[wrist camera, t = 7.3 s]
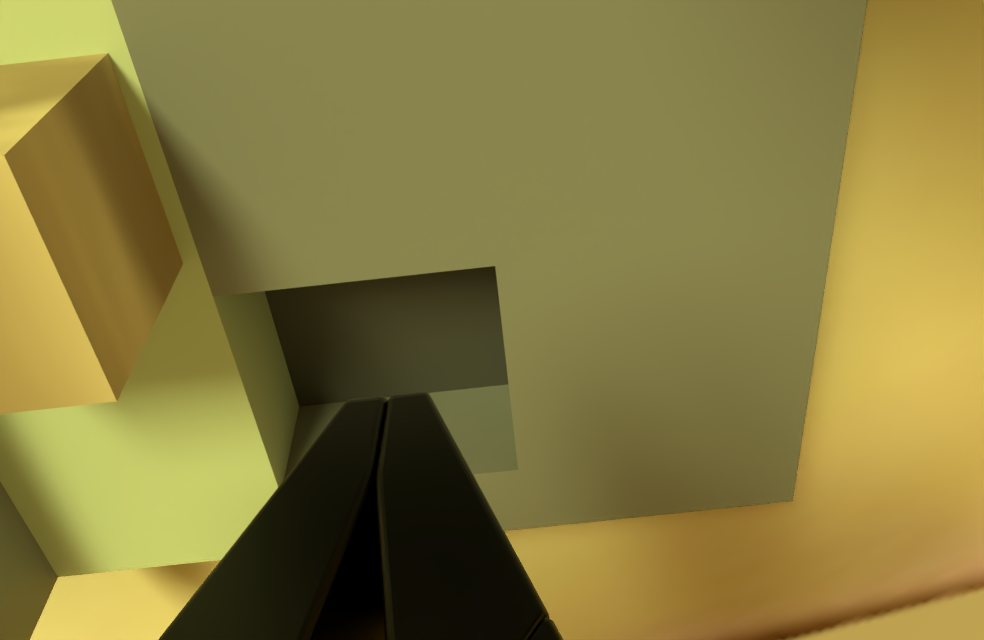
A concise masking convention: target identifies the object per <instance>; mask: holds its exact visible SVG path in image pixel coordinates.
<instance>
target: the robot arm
mask: <svg viewBox="0 0 984 640" xmlns="http://www.w3.org/2000/svg"><path fill="white" fill-rule="evenodd" d="M159 640H563V638H562V637H561V635H560V633H559V631H558V629H557V627H556V626H555V624H554V622H553V621H552V620H550V619H549V614H548V612H547V610H546V608H545V606H544V604H543V603H542V601H541V599H540V597H539V595H538V593H537V591H536V590H535V588H534V586H533V584H532V582H531V580H530V579H529V577H528V575H527V573H526V571H525V569H524V567H523V566H522V564H521V562H520V560H519V558H518V556H517V555H516V553H515V551H514V549H513V547H512V545H511V543H510V542H509V540H508V538H507V536H506V534H505V532H504V531H503V529H502V527H501V525H500V523H499V521H498V519H497V518H496V516H495V514H494V512H493V510H492V508H491V507H490V505H489V503H488V501H487V499H486V497H485V495H484V494H483V492H482V490H481V488H480V486H479V484H478V483H477V481H476V479H475V477H474V475H473V473H472V471H471V470H470V468H469V466H468V464H467V462H466V460H465V459H464V457H463V455H462V453H461V451H460V449H459V447H458V446H457V444H456V442H455V440H454V438H453V436H452V435H451V433H450V431H449V429H448V427H447V425H446V423H445V422H444V420H443V418H442V416H441V414H440V412H439V411H438V409H437V407H436V405H435V403H434V401H433V399H432V398H431V396H430V395H429V394H428V393H427V392H423V391H421V392H412V393H402V394H394V395H392V396H391V397H390V398H389V400H387V399H386V398H385V397H384V396H374V397H364V398H354V399H350V400H348V401H347V402H345V403H344V404H343V405H342V407H341V408H340V409H339V410H338V412H337V413H336V414H335V416H334V417H333V418H332V419H331V421H330V422H329V423H328V424H327V426H326V427H325V428H324V430H323V431H322V432H321V433H320V435H319V436H318V437H317V438H316V440H315V441H314V442H313V444H312V445H311V446H310V447H309V449H308V450H307V451H306V452H305V454H304V455H303V456H302V458H301V459H300V460H299V461H298V463H297V464H296V465H295V466H294V468H293V469H292V470H291V472H290V473H289V474H288V475H287V477H286V478H285V479H284V480H283V482H282V483H281V484H280V486H279V487H278V488H277V489H276V491H275V492H274V493H273V495H272V496H271V497H270V498H269V500H268V501H267V502H266V503H265V505H264V506H263V507H262V509H261V510H260V511H259V512H258V514H257V515H256V516H255V517H254V519H253V520H252V521H251V523H250V524H249V525H248V526H247V528H246V529H245V530H244V531H243V533H242V534H241V535H240V537H239V538H238V539H237V540H236V542H235V543H234V544H233V545H232V547H231V548H230V549H229V551H228V552H227V553H226V554H225V556H224V557H223V558H222V559H221V561H220V562H219V563H218V565H217V566H216V567H215V568H214V570H213V571H212V572H211V573H210V575H209V576H208V577H207V579H206V580H205V581H204V582H203V584H202V585H201V586H200V587H199V589H198V590H197V591H196V593H195V594H194V595H193V596H192V598H191V599H190V600H189V601H188V603H187V604H186V605H185V607H184V608H183V609H182V610H181V612H180V613H179V614H178V615H177V617H176V618H175V619H174V621H173V622H172V623H171V624H170V626H169V627H168V628H167V629H166V631H165V632H164V633H163V635H162V636H161V637H160V638H159Z"/></svg>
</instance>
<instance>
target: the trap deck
mask: <svg viewBox="0 0 984 640" xmlns="http://www.w3.org/2000/svg"><path fill="white" fill-rule="evenodd" d="M866 7H867V0H0V65H7V64H16V63H24V62H33V61H42V60H51V59H60V58H68V57H77V56H86V55H95V54H103V53H108V54H109V57H110V60H111V63H112V66H113V68H114V71H115V74H116V77H117V80H118V82H119V85H120V88H121V91H122V94H123V96H124V99H125V102H126V105H127V108H128V110H129V113H130V116H131V119H132V122H133V124H134V127H135V130H136V133H137V136H138V138H139V141H140V144H141V147H142V150H143V152H144V155H145V158H146V161H147V164H148V166H149V169H150V172H151V175H152V178H153V180H154V183H155V186H156V189H157V192H158V194H159V197H160V200H161V203H162V206H163V208H164V211H165V214H166V217H167V220H168V222H169V225H170V228H171V231H172V234H173V236H174V239H175V242H176V245H177V248H178V250H179V253H180V256H181V259H182V262H183V265H182V267H181V269H180V272H179V274H178V276H177V278H176V280H175V282H174V284H173V286H172V288H171V290H170V292H169V294H168V297H167V299H166V301H165V303H164V305H163V307H162V309H161V311H160V313H159V315H158V317H157V319H156V322H155V324H154V326H153V328H152V330H151V332H150V334H149V336H148V338H147V340H146V342H145V344H144V346H143V349H142V351H141V353H140V355H139V357H138V359H137V361H136V363H135V365H134V367H133V369H132V371H131V374H130V376H129V378H128V380H127V382H126V384H125V386H124V388H123V390H122V392H121V394H120V396H119V399H118V401H117V402H108V403H99V404H89V405H80V406H70V407H61V408H52V409H42V410H33V411H24V412H14V413H5V414H0V640H30V638H31V635H32V633H33V631H34V629H35V627H36V624H37V622H38V620H39V618H40V615H41V613H42V611H43V609H44V607H45V604H46V602H47V600H48V598H49V596H50V593H51V591H52V589H53V587H54V584H55V582H56V580H57V578H58V577H61V576H71V575H81V574H91V573H100V572H110V571H120V570H129V569H139V568H149V567H158V566H168V565H178V564H187V563H197V562H207V561H216V560H221V559H222V558H223V557H224V556H225V554H226V553H227V552H228V551H229V549H230V548H231V547H232V545H233V544H234V543H235V542H236V540H237V539H238V538H239V537H240V535H241V534H242V533H243V531H244V530H245V529H246V528H247V526H248V525H249V524H250V523H251V521H252V520H253V519H254V517H255V516H256V515H257V514H258V512H259V511H260V510H261V509H262V507H263V506H264V505H265V503H266V502H267V501H268V500H269V498H270V497H271V496H272V495H273V493H274V492H275V491H276V489H277V488H278V487H279V486H280V484H281V483H282V482H283V480H284V479H285V478H286V477H287V475H288V474H289V473H290V472H291V470H292V469H293V468H294V466H295V465H296V464H297V463H298V461H299V460H300V459H301V458H302V456H303V455H304V454H305V452H306V451H307V450H308V449H309V447H310V446H311V445H312V444H313V442H314V441H315V440H316V438H317V437H318V436H319V435H320V433H321V432H322V431H323V430H324V428H325V427H326V426H327V424H328V423H329V422H330V421H331V419H332V418H333V417H334V416H335V414H336V413H337V412H338V410H339V409H340V408H341V407H342V405H343V404H344V403H345V402H347V401H348V400H350V399H354V398H364V397H374V396H384V397H385V398H386V399H387V400H389V398H390V397H391V396H392V395H394V394H402V393H412V392H421V391H423V392H427V393H428V394H429V395H430V396H431V398H432V399H433V401H434V403H435V405H436V407H437V409H438V411H439V412H440V414H441V416H442V418H443V420H444V422H445V423H446V425H447V427H448V429H449V431H450V433H451V435H452V436H453V438H454V440H455V442H456V444H457V446H458V447H459V449H460V451H461V453H462V455H463V457H464V459H465V460H466V462H467V464H468V466H469V468H470V470H471V471H472V473H473V475H474V477H475V479H476V481H477V483H478V484H479V486H480V488H481V490H482V492H483V494H484V495H485V497H486V499H487V501H488V503H489V505H490V507H491V508H492V510H493V512H494V514H495V516H496V518H497V519H498V521H499V523H500V525H501V527H502V529H503V531H507V530H517V529H526V528H536V527H546V526H556V525H565V524H575V523H585V522H594V521H604V520H614V519H623V518H633V517H643V516H652V515H662V514H672V513H682V512H691V511H701V510H711V509H720V508H730V507H740V506H749V505H759V504H769V503H778V502H788V501H793V496H794V489H795V483H796V476H797V469H798V463H799V456H800V449H801V442H802V436H803V429H804V422H805V416H806V409H807V402H808V396H809V389H810V382H811V375H812V369H813V362H814V355H815V349H816V342H817V335H818V328H819V322H820V315H821V308H822V302H823V295H824V288H825V282H826V275H827V268H828V261H829V255H830V248H831V241H832V235H833V228H834V221H835V215H836V208H837V201H838V194H839V188H840V181H841V174H842V168H843V161H844V154H845V148H846V141H847V134H848V127H849V121H850V114H851V107H852V101H853V94H854V87H855V81H856V74H857V67H858V60H859V54H860V47H861V40H862V34H863V27H864V20H865V14H866Z"/></svg>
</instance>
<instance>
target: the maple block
mask: <svg viewBox="0 0 984 640" xmlns="http://www.w3.org/2000/svg"><path fill="white" fill-rule="evenodd" d="M182 265H183V262H182V259H181V256H180V253H179V250H178V248H177V245H176V242H175V239H174V236H173V234H172V231H171V228H170V225H169V222H168V220H167V217H166V214H165V211H164V208H163V206H162V203H161V200H160V197H159V194H158V192H157V189H156V186H155V183H154V180H153V178H152V175H151V172H150V169H149V166H148V164H147V161H146V158H145V155H144V152H143V150H142V147H141V144H140V141H139V138H138V136H137V133H136V130H135V127H134V124H133V122H132V119H131V116H130V113H129V110H128V108H127V105H126V102H125V99H124V96H123V94H122V91H121V88H120V85H119V82H118V80H117V77H116V74H115V71H114V68H113V66H112V63H111V60H110V57H109V54H108V53H103V54H95V55H86V56H77V57H68V58H60V59H51V60H42V61H33V62H24V63H16V64H7V65H0V414H5V413H14V412H24V411H33V410H42V409H52V408H61V407H70V406H80V405H89V404H99V403H108V402H117V401H118V399H119V396H120V394H121V392H122V390H123V388H124V386H125V384H126V382H127V380H128V378H129V376H130V374H131V371H132V369H133V367H134V365H135V363H136V361H137V359H138V357H139V355H140V353H141V351H142V349H143V346H144V344H145V342H146V340H147V338H148V336H149V334H150V332H151V330H152V328H153V326H154V324H155V322H156V319H157V317H158V315H159V313H160V311H161V309H162V307H163V305H164V303H165V301H166V299H167V297H168V294H169V292H170V290H171V288H172V286H173V284H174V282H175V280H176V278H177V276H178V274H179V272H180V269H181V267H182Z"/></svg>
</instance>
